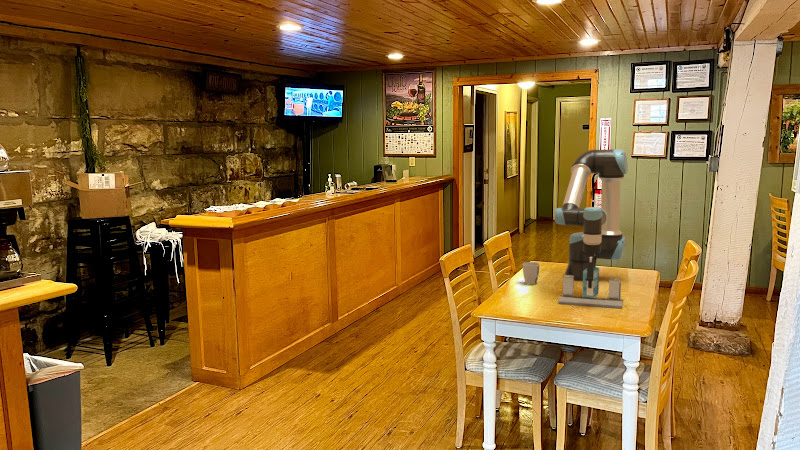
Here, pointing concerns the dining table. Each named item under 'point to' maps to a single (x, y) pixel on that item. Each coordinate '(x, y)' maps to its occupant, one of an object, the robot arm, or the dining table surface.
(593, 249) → the robot arm
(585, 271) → the data package
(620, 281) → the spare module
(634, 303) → the dining table surface
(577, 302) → the rail plate
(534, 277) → the cup
